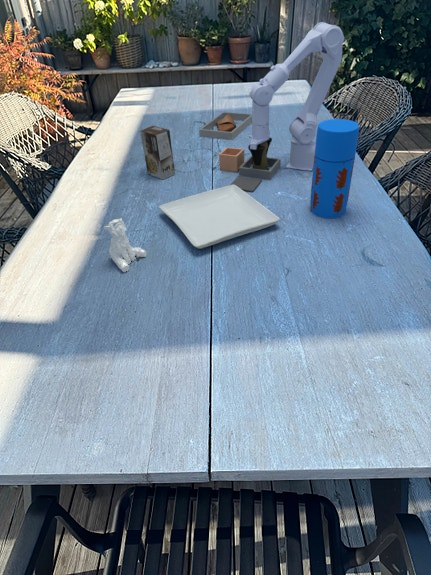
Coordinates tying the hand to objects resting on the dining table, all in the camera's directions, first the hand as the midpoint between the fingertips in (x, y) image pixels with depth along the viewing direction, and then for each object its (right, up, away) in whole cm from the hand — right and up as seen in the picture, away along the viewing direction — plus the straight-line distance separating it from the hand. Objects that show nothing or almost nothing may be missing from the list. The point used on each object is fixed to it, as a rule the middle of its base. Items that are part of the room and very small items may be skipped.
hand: (260, 162), depth 146 cm
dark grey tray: (-11, +27, +40) cm, 49 cm away
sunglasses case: (-11, +27, +40) cm, 50 cm away
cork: (0, -3, +2) cm, 4 cm away
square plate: (-15, -25, -23) cm, 37 cm away
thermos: (+18, -21, -22) cm, 35 cm away
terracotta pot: (-10, 0, +6) cm, 12 cm away
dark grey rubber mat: (-6, -10, -6) cm, 13 cm away
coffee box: (-36, -3, +6) cm, 37 cm away
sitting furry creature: (-40, -38, -36) cm, 66 cm away
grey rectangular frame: (0, -3, +2) cm, 3 cm away
